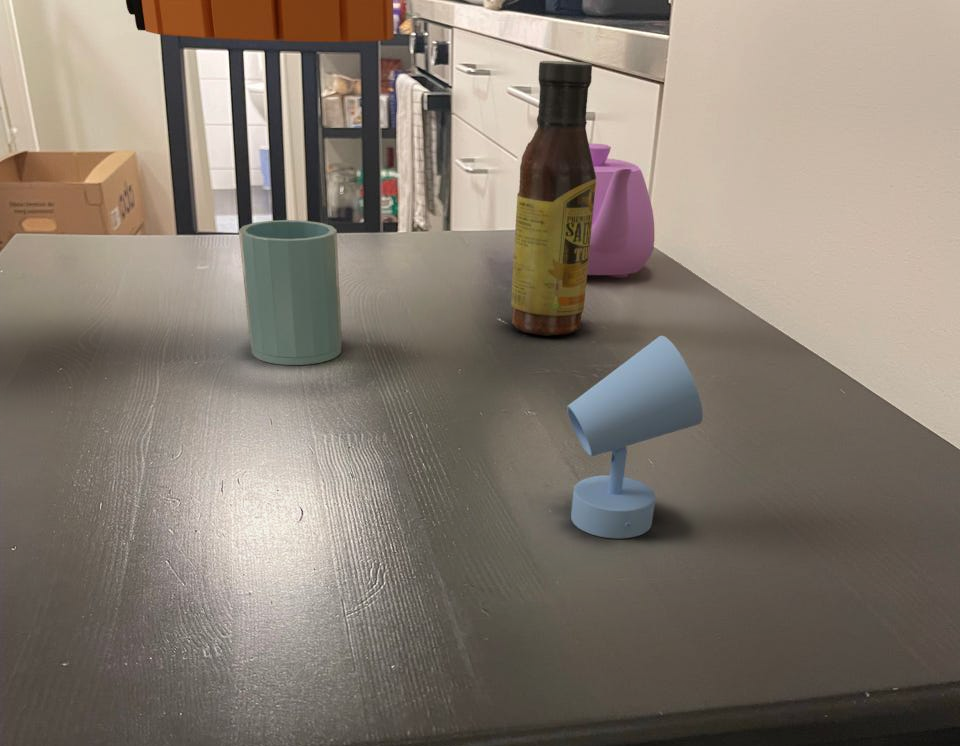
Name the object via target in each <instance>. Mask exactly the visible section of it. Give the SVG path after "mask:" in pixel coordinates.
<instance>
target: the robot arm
mask: <svg viewBox="0 0 960 746" xmlns="http://www.w3.org/2000/svg"><path fill="white" fill-rule="evenodd" d="M125 4H126V9H127V12H128V14H129V15H130V16H131V15H133V16H134V21H135V26H136V29H137V30H138V31H146V29H145V22H144V15H143V8H142V0H125ZM146 32H147V31H146Z"/></svg>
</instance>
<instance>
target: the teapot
mask: <svg viewBox="0 0 960 746" xmlns="http://www.w3.org/2000/svg"><path fill="white" fill-rule="evenodd" d="M589 148H590V152H591V157H592V161H593V166H594V170H595V175H596V187H595V197H594V207H593V218H592V229H591V239H590V250H589V260H588V270H587V276H608V277H612V278H619V279H621V278H627V277H629V274H635V273H638V272H640V271H641V270H642V269H643V267H644V266H645V265H646V264H647V262H649V259H650V258H651V256H652V254H653V252H654V247H655V218H654V211H653V206H652V202H651V198H650V195H649V191H648V188H647V184H646V180H645V177H644V175H643V172H642V170H641V168H640V167H639V166H638V165H636V164H634V163H632V162H629V161H626V160H621V159H616V158H608V157H609V154H610V152H611V146H610V145H608V144H604V143H589Z"/></svg>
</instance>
